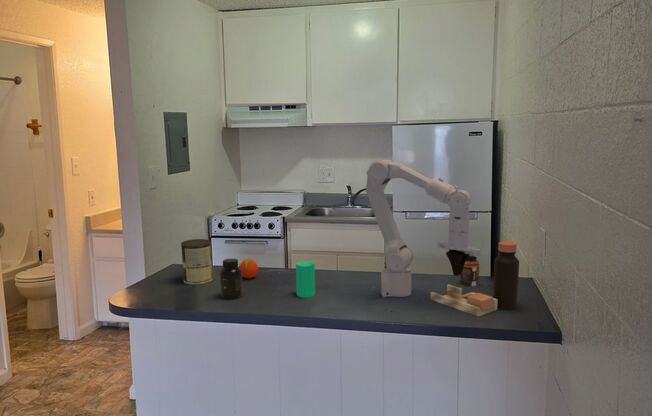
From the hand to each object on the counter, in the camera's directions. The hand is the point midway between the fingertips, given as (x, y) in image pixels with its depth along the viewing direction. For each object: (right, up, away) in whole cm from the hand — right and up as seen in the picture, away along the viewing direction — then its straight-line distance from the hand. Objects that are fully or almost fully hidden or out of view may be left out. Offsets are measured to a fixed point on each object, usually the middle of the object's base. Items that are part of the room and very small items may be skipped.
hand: (457, 274), depth 149 cm
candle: (-46, -8, +12) cm, 49 cm away
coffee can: (-86, -6, +29) cm, 91 cm away
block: (+5, -9, -7) cm, 12 cm away
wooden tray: (+4, -9, 0) cm, 10 cm away
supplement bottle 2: (+9, -7, +18) cm, 21 cm away
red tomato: (-68, -6, +31) cm, 74 cm away
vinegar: (+13, -10, -3) cm, 17 cm away
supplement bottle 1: (-70, -9, +12) cm, 72 cm away
